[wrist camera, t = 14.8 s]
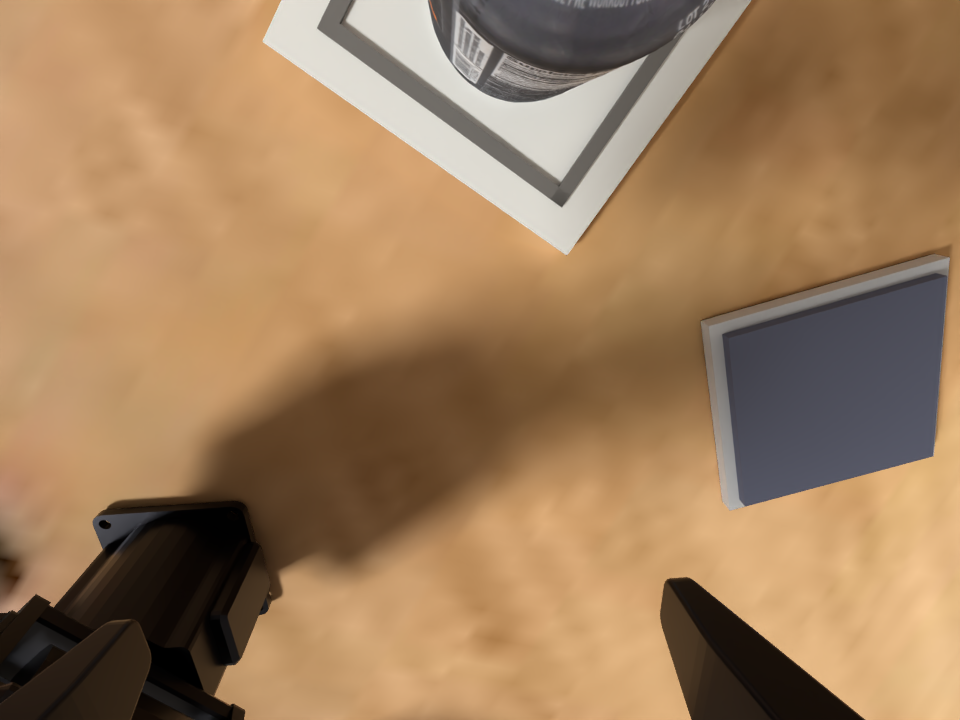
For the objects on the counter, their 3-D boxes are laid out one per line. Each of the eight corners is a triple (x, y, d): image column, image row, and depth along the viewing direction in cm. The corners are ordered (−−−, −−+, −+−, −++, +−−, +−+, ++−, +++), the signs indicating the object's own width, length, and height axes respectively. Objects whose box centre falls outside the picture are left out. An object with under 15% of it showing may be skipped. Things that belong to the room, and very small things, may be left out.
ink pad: (722, 501, 25) (735, 517, 24) (700, 320, 21) (714, 330, 20) (920, 448, 24) (943, 462, 23) (933, 253, 21) (961, 259, 19)
